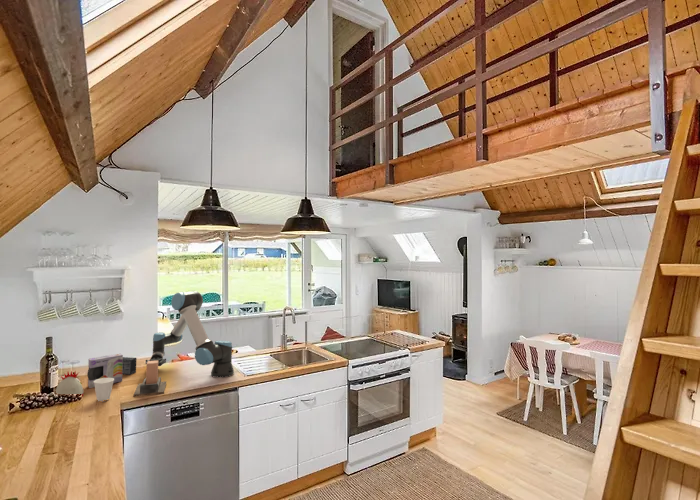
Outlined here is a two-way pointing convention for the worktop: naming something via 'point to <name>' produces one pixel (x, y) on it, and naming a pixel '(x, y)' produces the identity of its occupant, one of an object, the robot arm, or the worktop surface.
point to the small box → (129, 366)
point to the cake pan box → (105, 368)
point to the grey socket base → (150, 388)
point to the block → (152, 372)
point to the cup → (103, 388)
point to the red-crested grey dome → (70, 385)
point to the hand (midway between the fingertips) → (153, 367)
